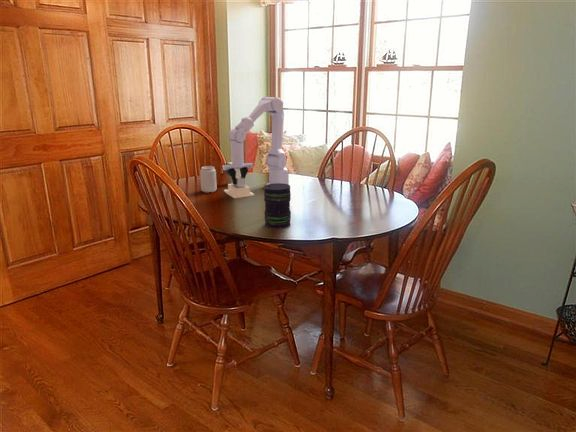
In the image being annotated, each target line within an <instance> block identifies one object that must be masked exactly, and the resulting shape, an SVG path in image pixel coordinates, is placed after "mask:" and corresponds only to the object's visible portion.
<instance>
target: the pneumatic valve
mask: <svg viewBox="0 0 576 432" xmlns="http://www.w3.org/2000/svg"><path fill="white" fill-rule="evenodd" d="M244 163H246V162H245V161H244ZM230 164H232V161H231V162H225V165H230ZM235 168H237V167H235ZM234 170H235V171H236V175H240V176H241V172H240V169H234ZM223 173H224V174H225V175H226V176H230V177H231V175H230V173H229V172H228V170H223ZM230 183H232V178H230Z"/></svg>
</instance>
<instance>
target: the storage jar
mask: <svg viewBox="0 0 576 432" xmlns="http://www.w3.org/2000/svg"><path fill="white" fill-rule="evenodd" d="M267 184H268V183H267ZM263 189H264V191H263V197H264V199H263V200H264V203H265V207H264V209H265V210H264V226H265V227H266V228H267V229H273V230H281V229H286V228H287V229H288V228H290V227H291V218H292V215H291V214H292V212H291V211H292V210H291V208H290V207H291V205H290V204H291V200H292V199H291V185H290V184H289V185H288V184H281V183H275V184H268V185H266V184H265V185H264V187H263Z"/></svg>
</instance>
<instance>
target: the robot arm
mask: <svg viewBox="0 0 576 432" xmlns="http://www.w3.org/2000/svg"><path fill="white" fill-rule="evenodd" d="M266 112H267V113H268V114H269V115H270V116H271V118H272V122H271V139H270V140H271V141H270V149H269V150H267V155H266V158H265V164H266V165H267V169H268V176H269V179H268V180H269V181H268V182H269V183H266V184H265V185H268V184H275V183H281V184H288V185H290V184H289V182H290V181H289V179H290V178H289V177H290V176H289V170H288V168H287V167H286V166H287V157H286V152H285V151H284V150H283V136H284V119H285V113H284V102H283V100H282V99H281V97H279V96H278V97H277V96H275V97H274V96H272V97H271V96H263V97H261V99H260V100H258V104H257V106H256V107H255V108H254V109H253V110H252V112H250V114H249V116H247V117H243V118H241V121H240V122H239V123H238V124H237V125H236V126H234V128H232V129H230V131H229V132H228V135H227V139H228V140H229V144H230V155H231V156H230V157H231V162H232V164H230V165H226V164H225V165H221V166H222V171H224V170H228V172H229V173H230V175H231V176H230V177H231V178H232V181H233V184H234V185H236V171H235V170H234V169H240V172H241V175H240V176H242V177H244V178H245V179H246V176H247V174H248V172H249V168H250V169H251V168H252V169H253V168H254V163H253V162H245V159H244V158H245V157H244V141H246V137H247V134H248V133H249V132H250V131H251V129H253V127H254V125H255V122H256V121H257V120H258V119H259V118H260V117H261V116H262V115H263V114H264V113H266ZM244 162H245V163H244ZM235 167H237V168H235ZM231 178H230V179H231Z"/></svg>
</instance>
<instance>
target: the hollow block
mask: <svg viewBox="0 0 576 432" xmlns="http://www.w3.org/2000/svg"><path fill="white" fill-rule="evenodd" d="M223 192H224V193H225V194H226V195H228V196H229V197H232V198H233V199H240V198H247V197H255V193H253V192H252V191H251V187H250V186H249V185H246V184H245V187H244V188H236V187H235V186H233V185H232V183H228V184H227V189H223Z"/></svg>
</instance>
